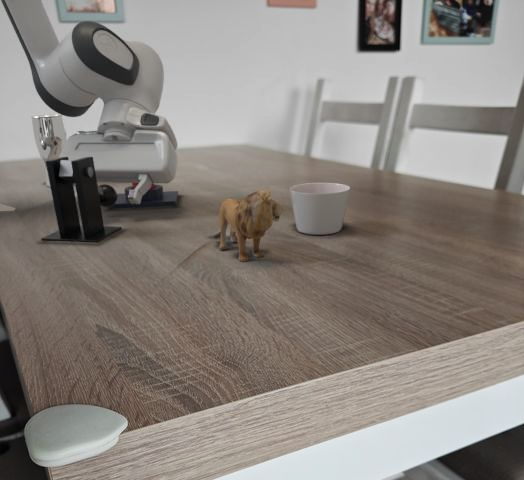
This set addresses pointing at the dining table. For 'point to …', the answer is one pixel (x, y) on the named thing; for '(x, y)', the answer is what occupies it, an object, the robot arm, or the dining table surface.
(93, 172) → the bracket
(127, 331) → the dining table surface
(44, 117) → the beer glass
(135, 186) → the button
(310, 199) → the white ramekin
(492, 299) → the dining table surface
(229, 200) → the lion figurine
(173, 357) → the dining table surface
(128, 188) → the button box
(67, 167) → the lever
